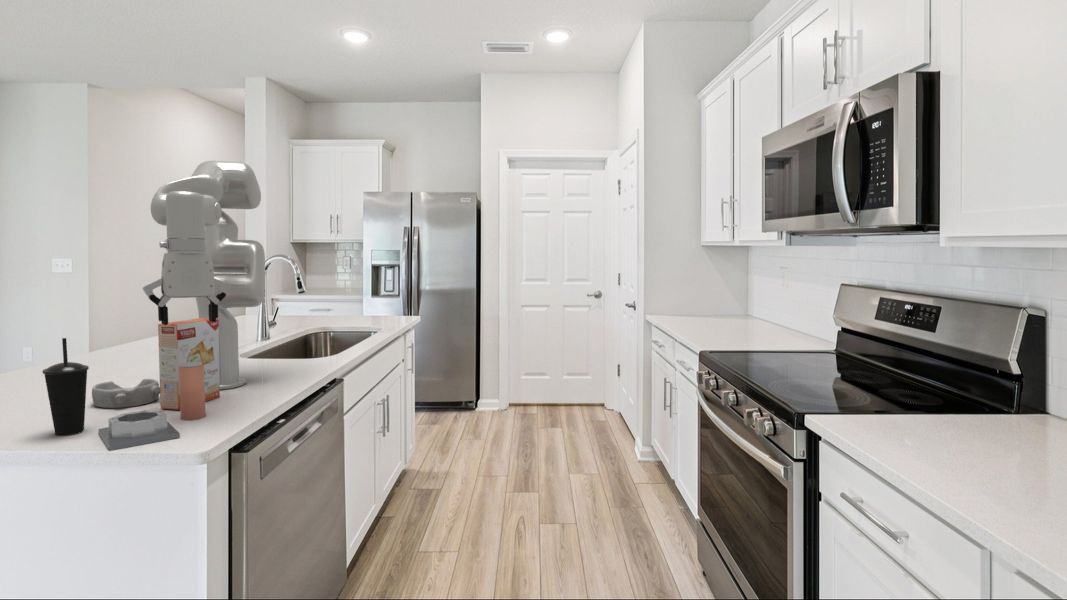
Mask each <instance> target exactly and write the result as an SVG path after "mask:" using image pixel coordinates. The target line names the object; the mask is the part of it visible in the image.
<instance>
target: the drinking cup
mask: <svg viewBox="0 0 1067 600" xmlns="http://www.w3.org/2000/svg"><path fill="white" fill-rule="evenodd" d="M61 340H62V357H63V362H58V363H56V364H53V365H51V366H48V367H47V368H44V369H43V370H42V374H43V375H44V379H45V383H46V392H47V397H48V402H49V407H50V412H51V418H52V423H53V430H54V434H55V436H57V437H58V436H60V437H64V436H65V437H66V436H72V434H73V435H77V434H80V433H83V432H84V431H85V421H86V420H85V419H86V418H85V416H86V399H87V396H86V395H87V384H88V383H87V379H88V370H89V369H90V367H89V365H86V364H82V363H79V362H72V361H68V347H67V345H68V344H67V337H62V338H61ZM83 430H84V431H83ZM82 431H83V432H82ZM79 432H80V433H79ZM76 433H77V434H76Z"/></svg>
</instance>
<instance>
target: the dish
mask: <svg viewBox="0 0 1067 600" xmlns="http://www.w3.org/2000/svg"><path fill="white" fill-rule="evenodd" d="M91 398H92V401H93V405H94V406H96V407H98V408H108V409H109V408H111V409H114V408H115V409H117V408H118V409H119V408H121V409H123V408H132V407H137V406H142V405H145V404H149V403H153V402H155V401H157V400H158V399H160V383H159V381H158V380H157V379H154V378H143V379H142V380H141V382H140V383H139V384H137V385H136V386H134V387H127V388H125V387H122V386H120V385H119V384H116V383H115V382H114V381H111V380H110V381H103V382H98V383H97V384H95V385H93V386H92V389H91Z"/></svg>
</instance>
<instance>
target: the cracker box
mask: <svg viewBox="0 0 1067 600" xmlns="http://www.w3.org/2000/svg"><path fill="white" fill-rule="evenodd" d="M157 326H158V327H157V328H158V330H157V332H158V363H159V364H158V365H159V367H158V368H159V374H158V375H159V387H160V394H159V403H160V409H164V410H174V411H181V410H180V386H179V366H180V364H181V363H184V362H194V361H198V362H202V364H203V365H204V384H205V403H206V402H209V401H212V400H215V399H218V398H221V397H220V395H221V393H220V391H221V390H220V380H219V320H218V319H216V322H212V321H209V318H199V317H198V318H191V319H185V320H184V319H183V320H178V321H170V322H169V321H168V324H167V325H163V324H162V323H158V324H157Z"/></svg>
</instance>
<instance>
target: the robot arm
mask: <svg viewBox="0 0 1067 600" xmlns="http://www.w3.org/2000/svg"><path fill="white" fill-rule="evenodd" d="M258 182H259V181H258V179H257V176H256V174H255V172H254V170H253V168H252V167H251V166H250V165H249V164H247V163H245V162H242V161H224V160H206V161H204V162H203V161H202V162H201V163H200V164H198V165H197V167H196V168H195V169H194V171H193V173H192V174H191V176H188V177H184V178H181V179H178V180H173V181H170V182H168V183H167V182H166V183H165V184H163V185H161V186H159V188H158V189H157V191H156V192H155V193H154V195H153V197H152V198H151V203H150V214H151V217H152V219H153V220H154V221H155V222H156V223H157V224H158V225H161V226H164V227H165V226H166V239H165V240H163V241H159V248H162V249H165V250H166V253H165V252H164V253H163V258H162V263H161V277H160V279H157V280H155V281H152V282H151V283H149V284H146V285H144V286H143V287H142V290H143V292H144V294H145V295H146V296H147V297H148V299H149V300H150V301H151V302H152V303H154V304H155V305H156V307H157V312H158V313H157V315H158V318H157V319H158V321H159V322H161V324H163V325H167V324H168V323H169V309H168V306H167V304H168V302H169V301H170V300H171V299H173V298H174V299H184V298H186V299H187V298H189V299H190V298H195V301H196V306H197V311H198V318H209V321H212V322H216V319H218V320H219V380H220V391H221V390H228V389H234V388H238V387H241V386H243V385H245V384H246V379H245V378H244V377H241V376H240V363H239V362H240V360H239V357H240V356H239V333H238V332H239V331H238V330H239V328H238V327H239V326H238V325H239V324H238V321H237V319H236V318H235V316H234V315H233V314H232V313H231V312H230V311H229V310H228V309H230V308H231V309H232V308H256V307H259V306H261V305H262V303H263V301H264V298H265V297H264V296H265V280H266V279H265V276H266V275H265V274H266V255H265V249H264V247H263V245H262V244H261V242H259V241H257V240H254V239H252V240H251V239H239V227H238V224H237V223H236V222H235V220H234V219H233V218H232V217H231V216H230V215H229V214H228V213H226V212H225V211H224V210H223V209H227V210H229V209H230V210H254V209H256V208H258V207H259V206H260V204H261V201H262V193H261V192H262V191H261V187H260V184H259V183H258ZM159 287H160V292H161V294H162V295H161V296H160V297H158V296H156V295H155V293H154V291H153V290H155V289H157V288H159Z"/></svg>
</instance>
